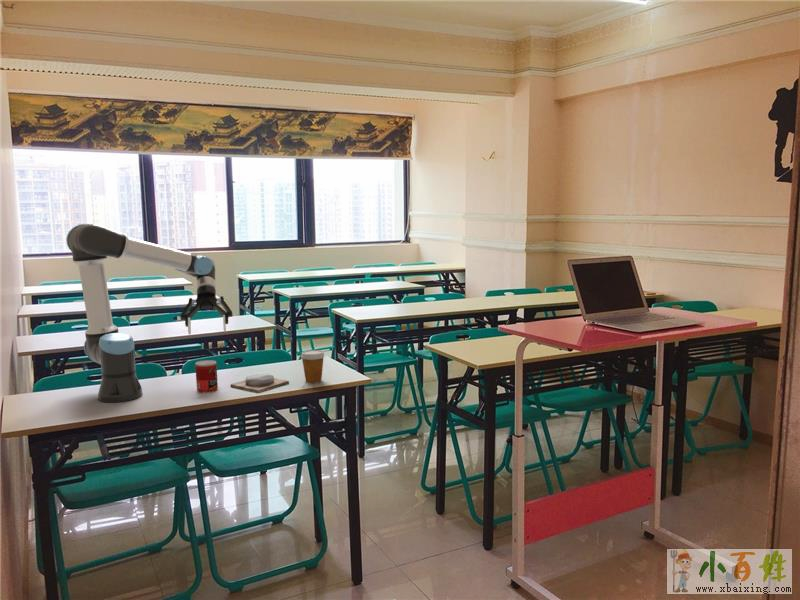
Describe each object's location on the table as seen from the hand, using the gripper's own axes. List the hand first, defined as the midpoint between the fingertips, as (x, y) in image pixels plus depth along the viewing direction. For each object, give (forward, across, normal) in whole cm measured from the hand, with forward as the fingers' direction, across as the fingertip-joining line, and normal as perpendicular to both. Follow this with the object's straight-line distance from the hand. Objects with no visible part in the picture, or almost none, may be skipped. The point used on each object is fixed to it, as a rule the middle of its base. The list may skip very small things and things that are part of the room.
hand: (207, 331), depth 251 cm
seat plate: (+22, -19, -8) cm, 30 cm away
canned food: (+23, +1, -7) cm, 24 cm away
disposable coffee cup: (+23, -40, -8) cm, 47 cm away
